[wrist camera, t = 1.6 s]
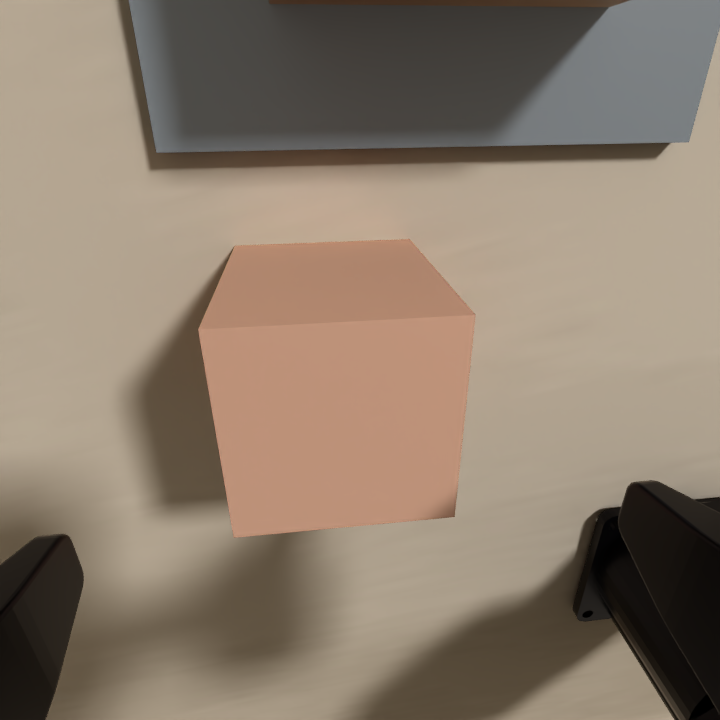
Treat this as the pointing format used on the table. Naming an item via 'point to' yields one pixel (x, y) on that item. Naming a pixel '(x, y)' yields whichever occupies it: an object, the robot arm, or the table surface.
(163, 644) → the table surface
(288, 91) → the grey flat square plate
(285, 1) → the walnut base block
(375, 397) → the terracotta cube
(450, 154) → the table surface
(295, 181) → the table surface
